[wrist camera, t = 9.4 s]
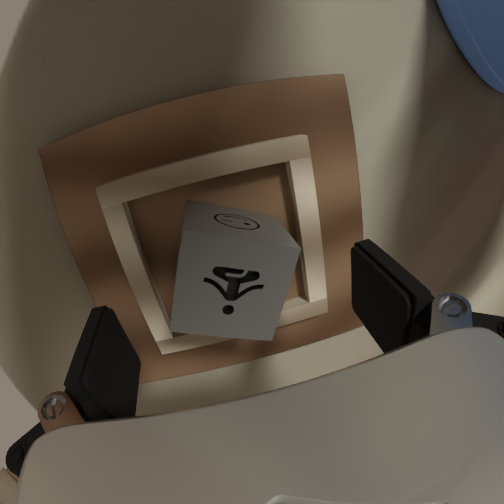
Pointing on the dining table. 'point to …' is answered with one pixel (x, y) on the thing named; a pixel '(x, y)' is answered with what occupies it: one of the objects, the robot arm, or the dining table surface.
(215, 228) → the dice cube
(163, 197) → the pocket board
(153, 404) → the dining table surface
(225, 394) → the dining table surface
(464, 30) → the water jug
